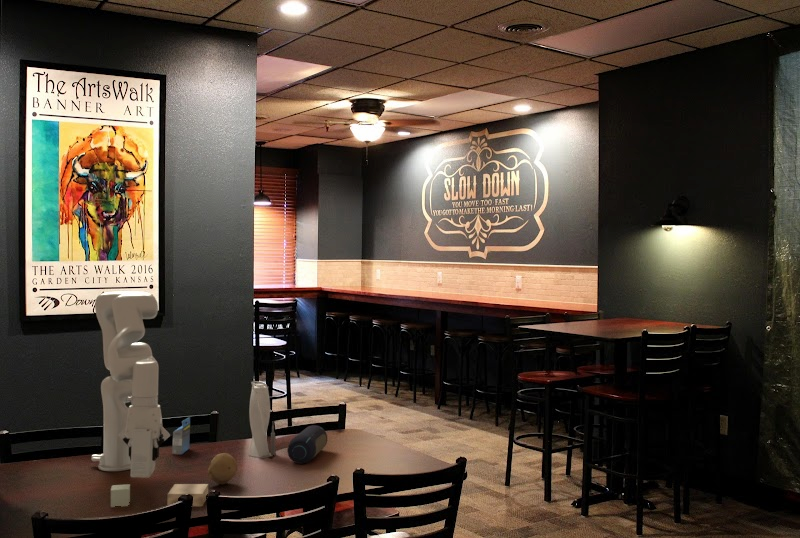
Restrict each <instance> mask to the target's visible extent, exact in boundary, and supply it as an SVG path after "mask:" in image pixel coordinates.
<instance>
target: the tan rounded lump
mask: <svg viewBox="0 0 800 538" xmlns="http://www.w3.org/2000/svg"><path fill="white" fill-rule="evenodd" d="M237 472H238V464H237V461H236V459H235V457H234V456H232V455H231V454H230V453H227V452H223V453H218V454H216V455H215V456H214V457H213V458H212V460H211V461H210V464H209V466H208V469H207V473H206V475H207V477H208V479H209V480H211V481H213V482H214V483H216V484H219V485H226V484H227V483H228V482H230V480H232V479H233V478H234V477H235V476H236V474H237Z"/></svg>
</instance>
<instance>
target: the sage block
mask: <svg viewBox="0 0 800 538" xmlns="http://www.w3.org/2000/svg"><path fill="white" fill-rule="evenodd" d="M129 502H130V503H131V484H128V483H127V484H115V485H113V484H112V485H111V488H110V508H116V507H115V506H121V507H129V506H130V503H129ZM128 505H129V506H128Z"/></svg>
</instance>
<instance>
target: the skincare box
mask: <svg viewBox="0 0 800 538" xmlns="http://www.w3.org/2000/svg"><path fill="white" fill-rule="evenodd" d="M153 447H154V445H153V440H152V430H148V429H133V430H132V447H131V469H130V478H150V477H151V476H152V474H153V472H154V471H155V469H156V460H155V461H153V460H152V452H153Z"/></svg>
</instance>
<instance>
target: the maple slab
mask: <svg viewBox="0 0 800 538" xmlns="http://www.w3.org/2000/svg"><path fill="white" fill-rule="evenodd" d="M184 494H190V495H192V496H193V506H192V507H204V504H205V503H206V500H207V499H206V495H207V494H208V495H209V483H174V484H173V486H172V487H171V488H170V490H169V492H168V493H167V497H166V498H167V501H166V502H167V503H166V504H167V505H169V504H173V503H176V502H178V498H179V497H180V496H181V495H184Z"/></svg>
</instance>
